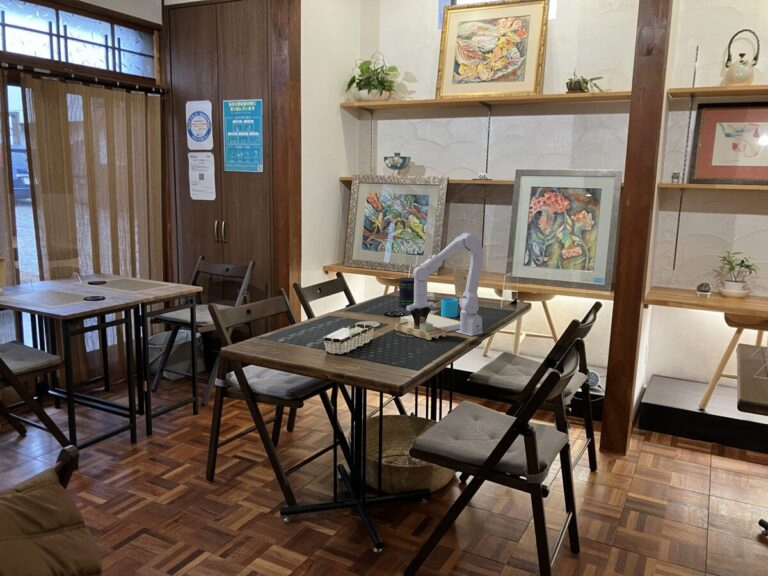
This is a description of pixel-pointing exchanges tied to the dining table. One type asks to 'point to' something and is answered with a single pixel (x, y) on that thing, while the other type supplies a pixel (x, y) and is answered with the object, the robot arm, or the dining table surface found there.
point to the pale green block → (426, 327)
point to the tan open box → (416, 331)
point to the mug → (449, 307)
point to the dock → (438, 322)
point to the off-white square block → (411, 323)
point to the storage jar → (406, 292)
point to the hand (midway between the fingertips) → (420, 324)
